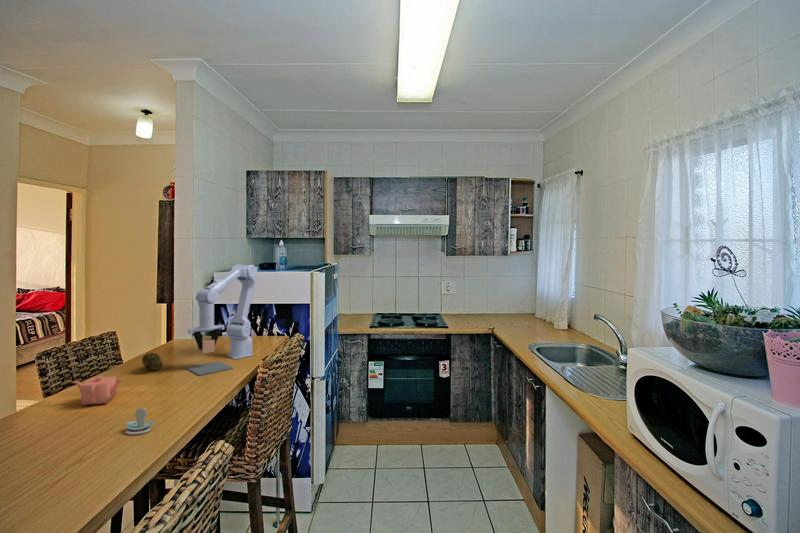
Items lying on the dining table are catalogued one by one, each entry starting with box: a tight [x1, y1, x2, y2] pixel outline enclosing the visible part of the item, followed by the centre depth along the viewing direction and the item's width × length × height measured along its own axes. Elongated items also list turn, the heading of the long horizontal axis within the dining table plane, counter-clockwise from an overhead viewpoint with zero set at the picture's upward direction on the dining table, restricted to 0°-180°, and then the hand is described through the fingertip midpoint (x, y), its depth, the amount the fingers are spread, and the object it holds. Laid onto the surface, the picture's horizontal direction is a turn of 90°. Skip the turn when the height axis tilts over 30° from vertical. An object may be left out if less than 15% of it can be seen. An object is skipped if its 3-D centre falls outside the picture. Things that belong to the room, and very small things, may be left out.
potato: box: [141, 352, 164, 370], centre depth 172 cm, size 8×13×8 cm, turn 6°
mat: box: [185, 360, 234, 377], centre depth 175 cm, size 14×14×1 cm
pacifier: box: [124, 407, 156, 436], centre depth 117 cm, size 7×6×6 cm
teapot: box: [72, 375, 126, 406], centre depth 138 cm, size 12×15×8 cm
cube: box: [197, 337, 216, 355], centre depth 177 cm, size 5×5×5 cm
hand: (206, 348), depth 177 cm, fingers closed on cube, 5 cm apart
